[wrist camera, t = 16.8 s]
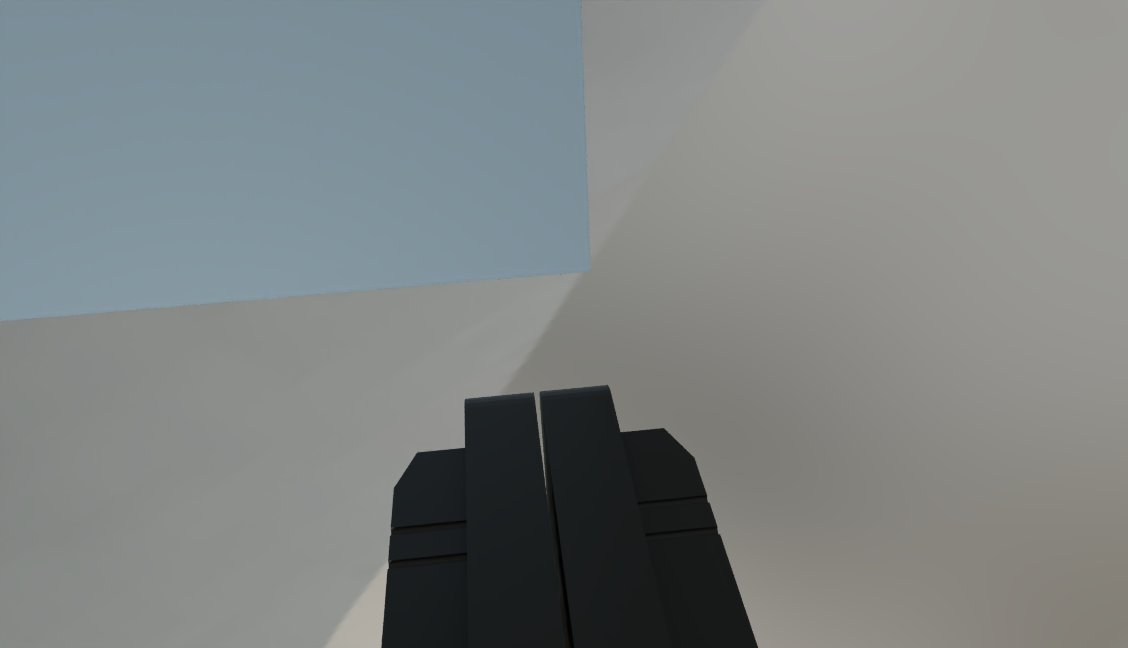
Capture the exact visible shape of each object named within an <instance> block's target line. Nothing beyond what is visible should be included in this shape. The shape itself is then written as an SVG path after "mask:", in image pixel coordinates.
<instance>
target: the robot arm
mask: <svg viewBox="0 0 1128 648" xmlns="http://www.w3.org/2000/svg"><path fill="white" fill-rule="evenodd" d="M540 410H541V424H542V438H543V451H544V465H545V477H546V487H545V479H544V471H543V462H542V455H541V446H540V438H539V430H538V422H537V414H536V406H535V398H534V393H524V394H512V395H502V396H491V397H481V398H470V399H465V448H459V449H449V450H439V451H428V452H418V453H417V454H416V455H415V457H414V458H413V460H412V461H411V463H410V464H409V466H408V468H407V469H406V471H405V472H404V474H403V475H402V477H401V478H400V480H399V481H398V483H397V484H396V486H395V487H394V494H393V507H392V520H391V536H390V545H389V558H388V562H389V569H388V572H387V584H386V597H385V609H384V622H383V635H382V648H758V646H757V643H756V640H755V637H754V634H753V631H752V628H751V625H750V622H749V619H748V616H747V613H746V610H745V607H744V604H743V602H742V598H741V595H740V592H739V589H738V586H737V584H736V580H735V578H734V574H733V571H732V568H731V565H730V563H729V560H728V557H727V554H726V551H725V548H724V545H723V542H722V539H721V536H720V535H719V534H718V530H717V524H716V521H715V518H714V515H713V512H712V509H711V506H710V503H708V501H707V494H706V491H705V488H704V485H703V482H702V479H701V476H700V473H699V470H698V467H697V464H696V461H695V458H694V457H693V456H692V455H691V454H690V453H689V452H688V451H687V450H686V449H684V447H683V446H682V445H681V444H680V443H678V442H677V441H676V440H675V439H674V438H673V437H672V436H671V435H670V434H669V433H668V432H667V431H666V430H665V429H664V428H660V429H651V430H640V431H631V432H620V428H619V424H618V420H617V416H616V412H615V408H614V404H613V399H612V395H611V391H610V388H609V386H608V385H604V386H593V387H583V388H572V389H562V390H552V391H542V392H540ZM546 492H547V495H546Z"/></svg>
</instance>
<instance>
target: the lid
mask: <svg viewBox="0 0 1128 648" xmlns="http://www.w3.org/2000/svg"><path fill="white" fill-rule="evenodd" d="M589 271H590V245H589V217H588V189H587V162H586V134H585V106H584V79H583V51H582V23H581V0H0V321H8V320H20V319H31V318H43V317H55V316H67V315H79V314H91V313H103V312H114V311H126V310H138V309H150V308H162V307H174V306H186V305H197V304H209V303H221V302H233V301H245V300H257V299H269V298H280V297H292V296H304V295H316V294H328V293H340V292H352V291H363V290H375V289H387V288H399V287H411V286H423V285H435V284H446V283H458V282H470V281H482V280H494V279H506V278H518V277H529V276H541V275H553V274H565V273H577V272H589Z"/></svg>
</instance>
